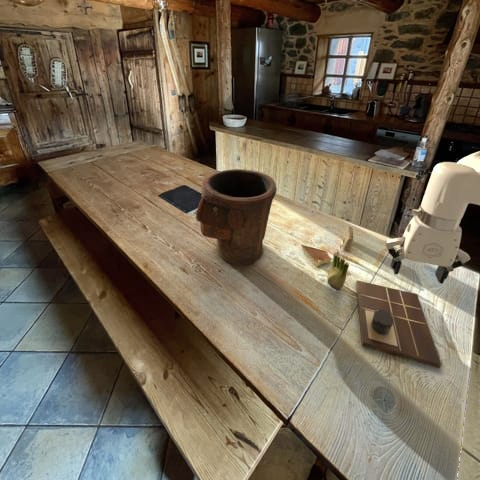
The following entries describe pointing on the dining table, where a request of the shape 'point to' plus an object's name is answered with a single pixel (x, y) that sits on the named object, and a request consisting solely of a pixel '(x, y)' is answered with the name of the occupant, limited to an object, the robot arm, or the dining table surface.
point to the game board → (396, 323)
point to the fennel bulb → (337, 272)
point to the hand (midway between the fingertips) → (416, 274)
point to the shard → (317, 255)
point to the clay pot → (236, 213)
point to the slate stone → (382, 322)
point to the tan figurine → (347, 239)
